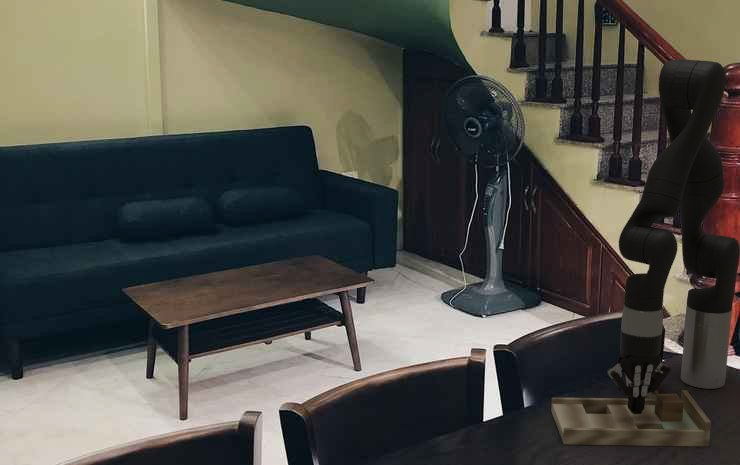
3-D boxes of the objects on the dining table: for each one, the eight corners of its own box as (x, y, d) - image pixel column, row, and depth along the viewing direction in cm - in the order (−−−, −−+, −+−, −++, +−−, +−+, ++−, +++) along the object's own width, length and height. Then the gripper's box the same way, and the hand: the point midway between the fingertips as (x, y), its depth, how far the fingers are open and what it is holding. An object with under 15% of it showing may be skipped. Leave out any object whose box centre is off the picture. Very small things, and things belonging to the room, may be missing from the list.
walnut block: (654, 412, 174) (655, 394, 173) (674, 412, 174) (675, 393, 173) (661, 421, 170) (663, 402, 169) (682, 421, 170) (683, 402, 169)
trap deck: (563, 444, 165) (564, 419, 164) (551, 411, 179) (552, 388, 178) (708, 446, 164) (711, 421, 163) (684, 413, 178) (686, 390, 177)
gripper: (662, 320, 172) (656, 401, 176) (600, 324, 170) (595, 407, 174) (683, 332, 165) (676, 417, 169) (619, 337, 163) (613, 423, 166)
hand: (635, 412), depth 171 cm, fingers closed
